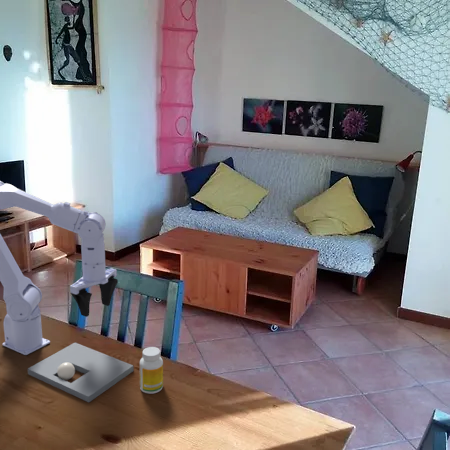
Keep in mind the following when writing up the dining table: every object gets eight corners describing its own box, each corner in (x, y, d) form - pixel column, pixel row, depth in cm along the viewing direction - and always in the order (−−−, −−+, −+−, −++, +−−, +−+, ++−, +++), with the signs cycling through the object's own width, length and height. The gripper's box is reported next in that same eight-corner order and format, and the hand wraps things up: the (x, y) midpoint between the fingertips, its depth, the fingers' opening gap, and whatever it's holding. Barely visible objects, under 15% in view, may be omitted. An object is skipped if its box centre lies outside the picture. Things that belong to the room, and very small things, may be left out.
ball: (53, 363, 119) (68, 356, 122) (53, 377, 120) (68, 371, 123) (64, 370, 116) (78, 364, 120) (63, 385, 118) (78, 378, 121)
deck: (28, 374, 121) (27, 368, 121) (75, 347, 134) (74, 342, 133) (88, 402, 112) (88, 396, 111) (133, 370, 124) (133, 365, 124)
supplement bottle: (135, 386, 118) (134, 349, 116) (155, 378, 122) (155, 342, 119) (147, 397, 114) (147, 360, 112) (167, 389, 118) (167, 352, 115)
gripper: (83, 273, 121) (86, 324, 124) (124, 256, 133) (126, 303, 136) (63, 267, 124) (66, 317, 128) (104, 251, 136) (106, 297, 140)
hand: (95, 309), depth 132 cm, fingers open, 7 cm apart
